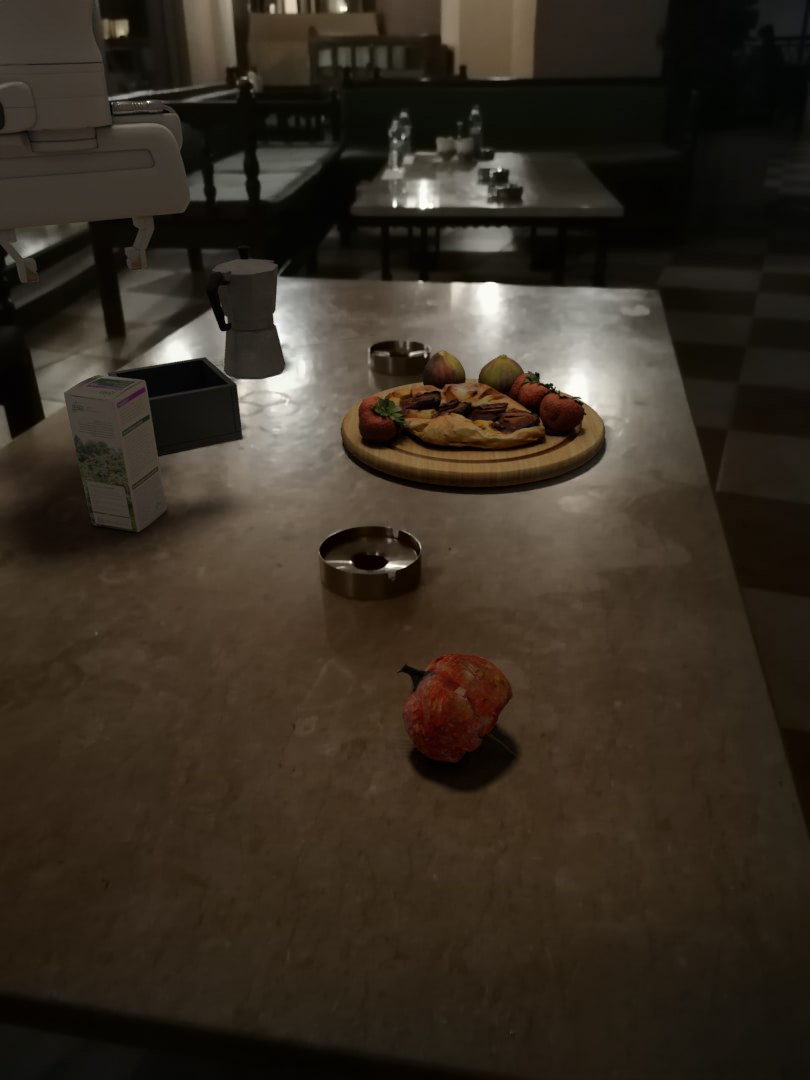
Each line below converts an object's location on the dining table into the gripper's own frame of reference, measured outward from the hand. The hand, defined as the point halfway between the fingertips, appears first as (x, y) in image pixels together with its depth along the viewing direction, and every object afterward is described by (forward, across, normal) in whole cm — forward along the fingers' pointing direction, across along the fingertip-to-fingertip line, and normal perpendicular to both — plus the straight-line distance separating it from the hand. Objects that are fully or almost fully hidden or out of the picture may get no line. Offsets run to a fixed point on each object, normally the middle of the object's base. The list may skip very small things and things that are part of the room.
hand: (85, 274), depth 81 cm
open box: (+25, -11, -21) cm, 35 cm away
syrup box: (+25, 0, 0) cm, 25 cm away
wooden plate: (+25, -42, -1) cm, 49 cm away
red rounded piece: (+25, -12, +46) cm, 54 cm away
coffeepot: (+25, -27, -39) cm, 54 cm away
